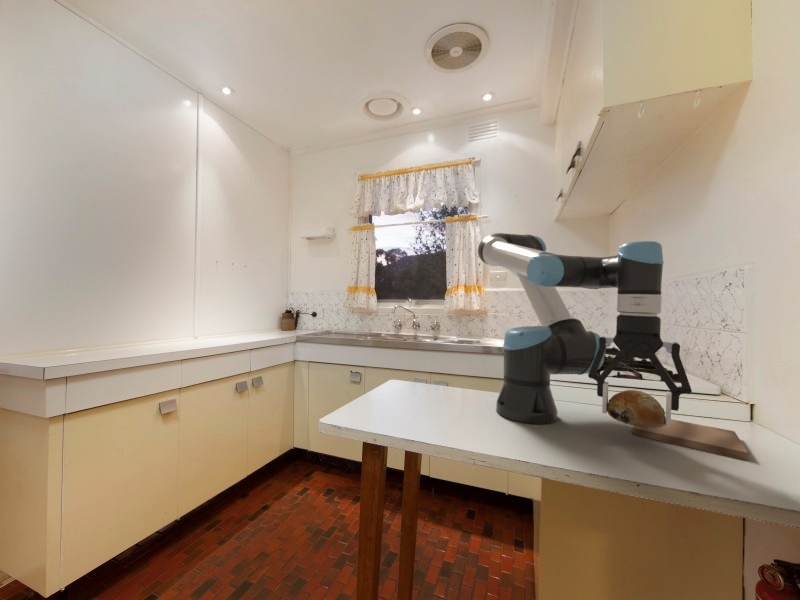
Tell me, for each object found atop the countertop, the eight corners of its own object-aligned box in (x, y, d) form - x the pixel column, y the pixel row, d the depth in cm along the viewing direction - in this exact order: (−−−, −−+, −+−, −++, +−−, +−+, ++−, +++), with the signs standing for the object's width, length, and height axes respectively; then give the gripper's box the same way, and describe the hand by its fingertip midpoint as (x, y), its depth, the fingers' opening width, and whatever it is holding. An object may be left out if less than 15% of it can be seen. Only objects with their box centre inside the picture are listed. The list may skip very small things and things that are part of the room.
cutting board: (632, 434, 72) (632, 427, 72) (635, 418, 83) (635, 412, 83) (748, 460, 61) (748, 452, 61) (734, 437, 71) (734, 431, 71)
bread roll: (666, 448, 62) (687, 414, 61) (614, 421, 64) (634, 387, 63) (638, 428, 71) (656, 398, 71) (594, 405, 73) (611, 375, 73)
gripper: (575, 312, 72) (572, 409, 72) (715, 318, 57) (711, 440, 57) (581, 311, 77) (578, 401, 77) (709, 317, 63) (706, 427, 63)
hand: (634, 417), depth 67 cm, fingers closed on bread roll, 10 cm apart
